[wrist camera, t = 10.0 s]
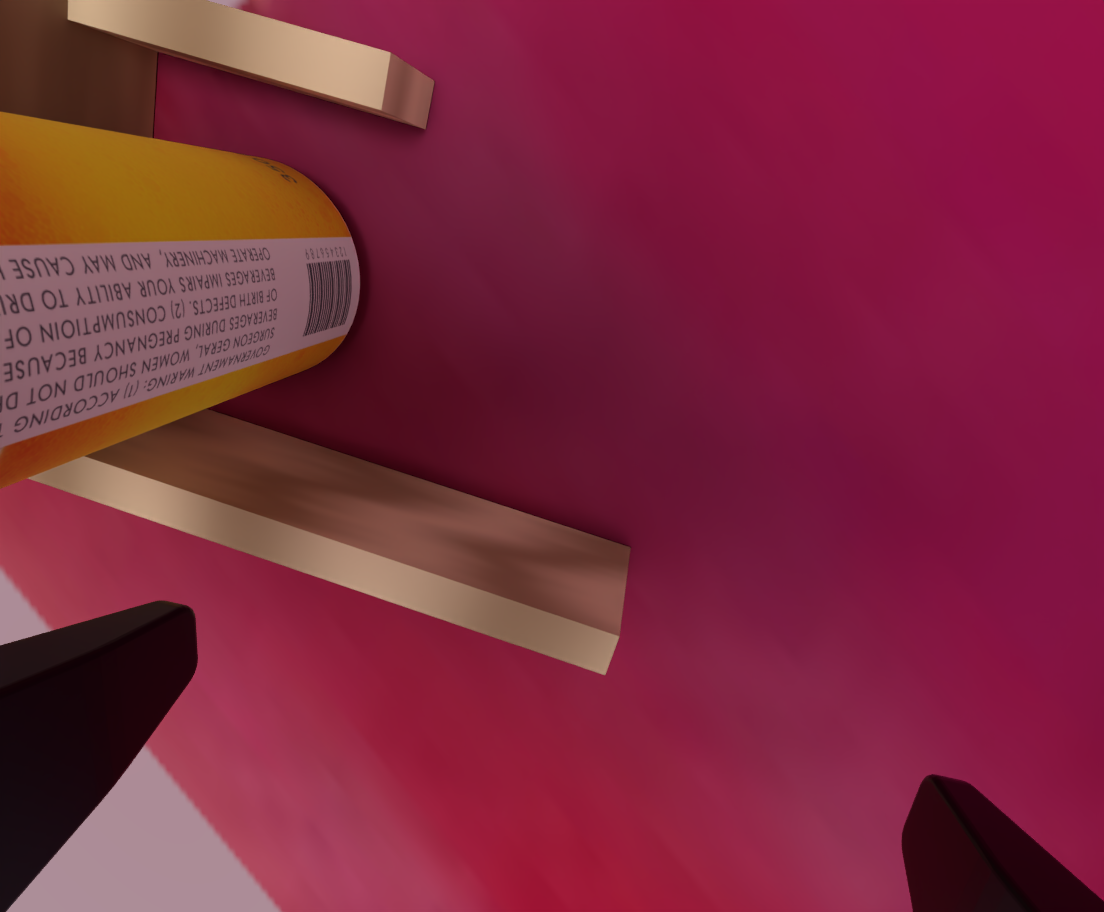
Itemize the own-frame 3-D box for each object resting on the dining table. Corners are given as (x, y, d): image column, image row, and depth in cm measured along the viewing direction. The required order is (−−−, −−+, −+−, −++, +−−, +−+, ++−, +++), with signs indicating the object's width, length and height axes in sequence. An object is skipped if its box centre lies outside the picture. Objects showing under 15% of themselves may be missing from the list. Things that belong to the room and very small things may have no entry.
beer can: (169, 156, 20) (-1071, -23, 6) (366, 161, 19) (-518, -37, 5) (197, 362, 22) (-669, 609, 8) (377, 375, 21) (-226, 680, 7)
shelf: (763, 174, 17) (851, 117, 9) (619, 579, 22) (586, 800, 13) (93, -16, 19) (-386, -225, 10) (82, 401, 23) (-262, 500, 14)
